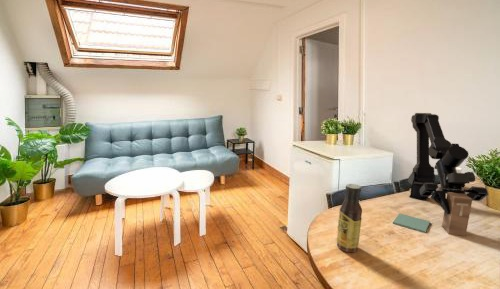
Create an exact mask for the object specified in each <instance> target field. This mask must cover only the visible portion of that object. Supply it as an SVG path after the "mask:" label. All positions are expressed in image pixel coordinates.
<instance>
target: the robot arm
mask: <svg viewBox="0 0 500 289" xmlns="http://www.w3.org/2000/svg"><path fill="white" fill-rule="evenodd" d="M439 119H440V118H439V115H438V114H435V113H434V114H433V113H431V112H415V113H414V114H413V115H412V116H411V118H410V120H411V123H412V128H413V130H414V131H415V132H416V163H415V165H414V166H413V167H412V172H411V173H410V175H409V176H408V181H407V182H408V183H409V184H410V185H411V187H410V195H408V197H409V198H412V199H416V200H421V201H427V199H429V197H430V199H432V200H434V201H435V202H436V203H437V204H438V205H439V206H440V207H441V209H442V210H443V212H444V211H445V212H446V213H447V214H450V211H449V206H448V203H447V200H446V198H447V192H453V193H463V194H466V195H467V196H469V197H470V198H472V202H473V201H474V202H478V201H479V202H480V201H481V202H482V200H483V199H485V198H486V197H487V196H489V191H488V189H487V188H486V187H483V186H471V187H470V188H468V189H463V188H465V187H466V184H468V185H469V184H470V183H473V182H475V181H476V175H475V173H474V172H473V171H467V172H461V173H457V171H456V167H460V166H461V164H462V163H463V162H465V160H466V159H467V158H468V157H469V150H467V149H466V148H465V147H462V146H460V144H459V143H452V142H451V141H449V140H448V139H446V138H445V136H444V132H443V130H442V126H441V124H440V122H439ZM430 158H431V159H432V160H437V161H436V162H435V165H434V166H432V165H431V163H430ZM435 170H436V172H437V175H438V176H437V177H438V178H437V183H439V184H440V186H439V185H438V184H437V183H436V182H435V181H436V174H435Z"/></svg>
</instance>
